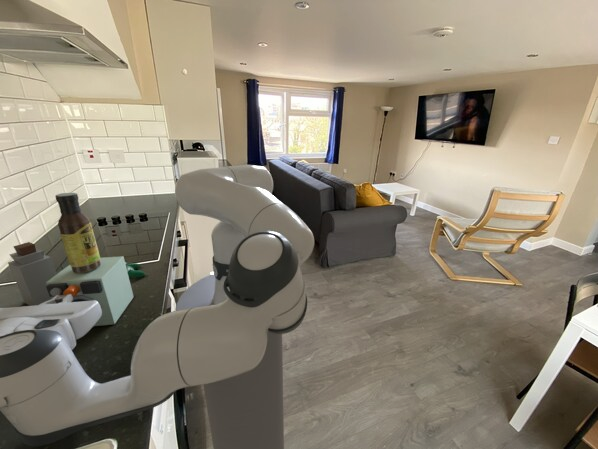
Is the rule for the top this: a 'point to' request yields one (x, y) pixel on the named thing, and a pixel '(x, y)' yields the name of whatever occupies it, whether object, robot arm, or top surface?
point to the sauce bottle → (77, 235)
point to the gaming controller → (132, 271)
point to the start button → (72, 290)
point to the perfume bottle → (32, 273)
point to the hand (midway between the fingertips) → (65, 297)
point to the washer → (98, 287)
